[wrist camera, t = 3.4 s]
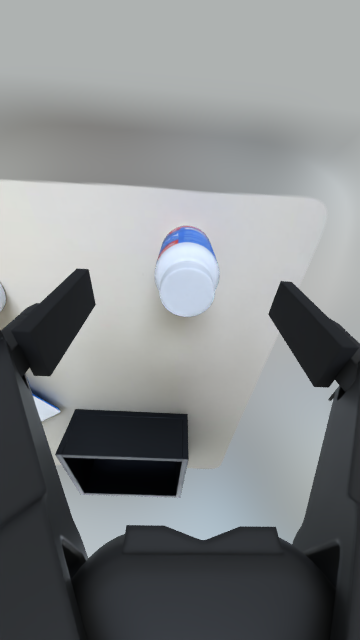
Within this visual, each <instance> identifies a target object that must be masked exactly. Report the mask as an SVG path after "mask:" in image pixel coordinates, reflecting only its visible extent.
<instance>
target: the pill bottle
mask: <svg viewBox="0 0 360 640" xmlns="http://www.w3.org/2000/svg"><path fill="white" fill-rule="evenodd" d="M155 282H156V285H157V288H158V290H159V292H160V299H161V301H162V304H163V305H164V307H165V308H166V309H167V310H168V311H170V312H171V313H173V314H175V315H178V316H182V317H192V316H196V315H199V314H201V313H203V312H204V311H205V310H207V309H208V308H209V306H210V305H211V304H212V302H213V299H214V295H215V290H216V288H217V285H218V282H219V267H218V263H217V260H216V257H215V254H214V252H213V249H212V246H211V244H210V241H209V239H208V238H207V236H206V235H205V234H204V232H202V231H201V230H200V229H198V228H196V227H193V226H181V227H178V228H175V229H174V230H172V231H171V232H170V233H169V234H168V235H167V236H166V238H165V239H164V241H163V244H162V247H161V250H160V254H159V257H158V260H157V264H156V268H155Z"/></svg>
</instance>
